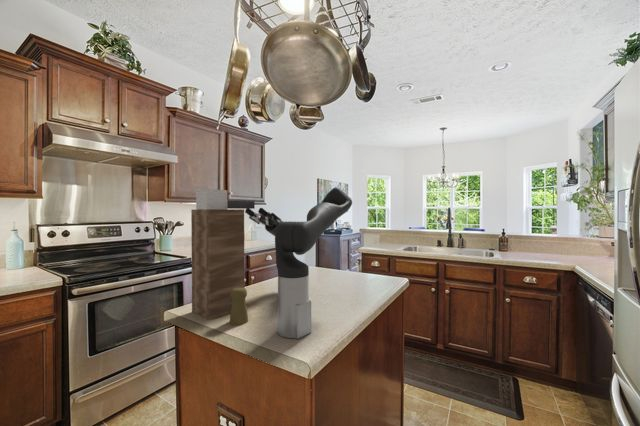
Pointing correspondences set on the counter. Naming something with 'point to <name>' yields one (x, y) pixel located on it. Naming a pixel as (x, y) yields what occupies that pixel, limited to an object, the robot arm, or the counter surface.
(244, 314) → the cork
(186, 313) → the counter surface
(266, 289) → the counter surface
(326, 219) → the robot arm
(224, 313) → the tall wooden block
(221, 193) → the meat mallet
